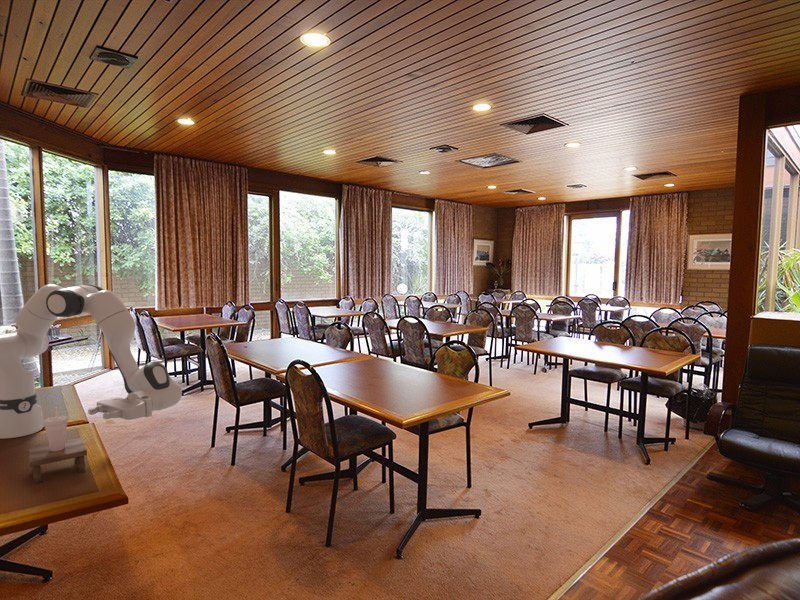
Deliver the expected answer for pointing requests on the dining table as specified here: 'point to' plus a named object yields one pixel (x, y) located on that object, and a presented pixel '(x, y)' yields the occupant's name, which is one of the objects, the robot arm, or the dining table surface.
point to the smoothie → (56, 431)
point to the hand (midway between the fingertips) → (96, 414)
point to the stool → (57, 456)
